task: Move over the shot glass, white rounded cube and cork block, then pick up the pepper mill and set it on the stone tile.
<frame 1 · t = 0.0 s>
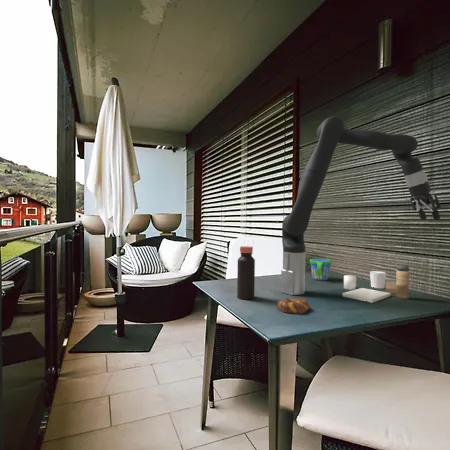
hand: (430, 219, 128), 31 cm above the table, tool tilted 20°, fingers open, 8 cm apart
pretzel: (293, 310, 106), on the table
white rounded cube: (349, 288, 138), on the table
cork block: (391, 292, 132), on the table
pepper mill: (402, 297, 122), on the table
snack cup: (320, 279, 157), on the table
stone tile: (366, 296, 124), on the table
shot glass: (377, 287, 141), on the table
bottle: (245, 298, 120), on the table
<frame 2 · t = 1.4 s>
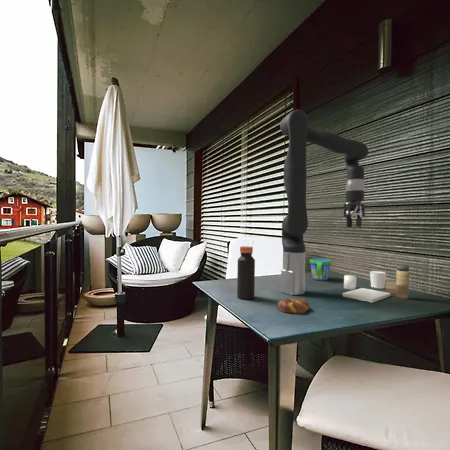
hand: (354, 226, 135), 28 cm above the table, tool pointing down, fingers open, 8 cm apart
nothing on the table moved.
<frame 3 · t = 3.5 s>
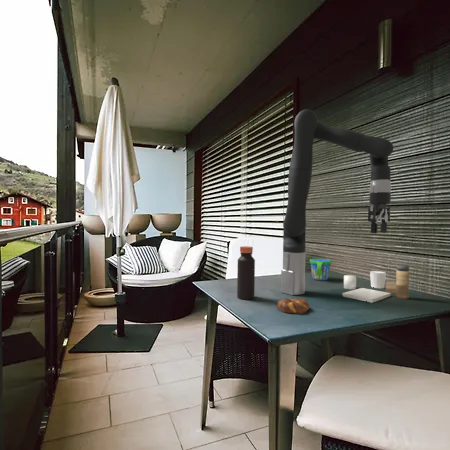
hand: (378, 232, 121), 26 cm above the table, tool pointing down, fingers open, 8 cm apart
nothing on the table moved.
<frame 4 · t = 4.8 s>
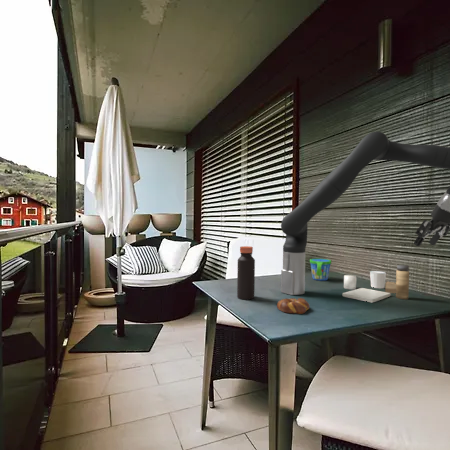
hand: (423, 244, 114), 22 cm above the table, tool tilted 30°, fingers open, 8 cm apart
nothing on the table moved.
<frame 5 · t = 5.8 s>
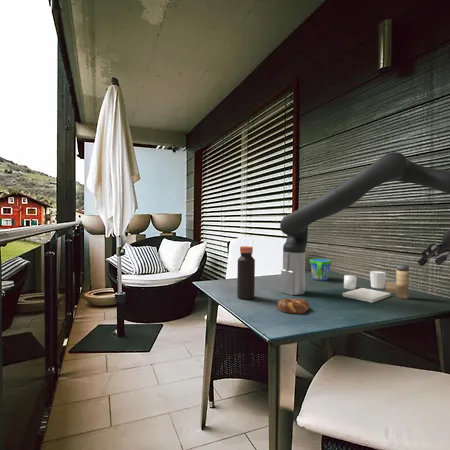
hand: (428, 263, 112), 15 cm above the table, tool tilted 45°, fingers open, 8 cm apart
nothing on the table moved.
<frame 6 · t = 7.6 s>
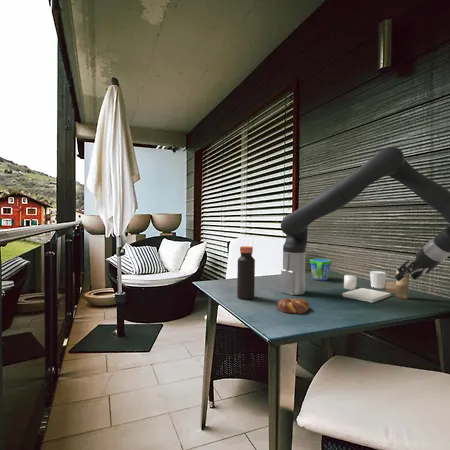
hand: (405, 278, 121), 8 cm above the table, tool tilted 45°, fingers open, 8 cm apart
nothing on the table moved.
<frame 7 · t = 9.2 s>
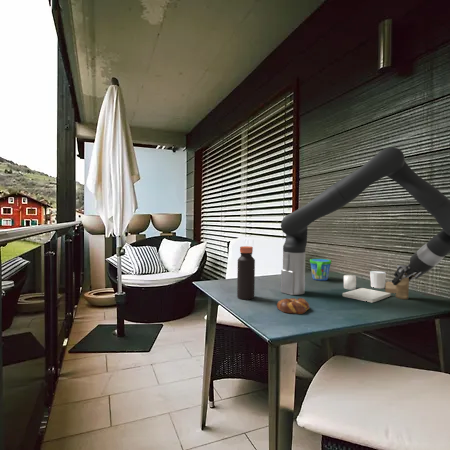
hand: (398, 282, 124), 6 cm above the table, tool tilted 45°, fingers closed on pepper mill, 4 cm apart
pepper mill: (402, 297, 122), on the table, touching gripper
everything else where it was.
when the fingers open (8 cm above the table, at t = 13.9 s): pepper mill drops 1 cm, resting on stone tile.
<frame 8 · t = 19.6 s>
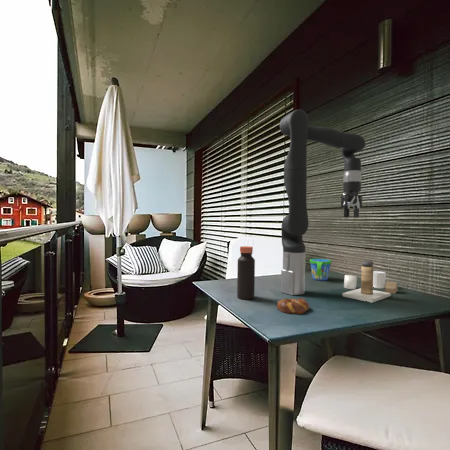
hand: (351, 217, 138), 32 cm above the table, tool pointing down, fingers open, 8 cm apart
pepper mill: (366, 293, 124), point 1 cm above the table, touching stone tile
everything else where it was.
at the end: pepper mill inside the target area on the stone tile (0.1 cm from its centre), point 1.2 cm above the stone tile's base; pepper mill tilted 0°; the gripper is holding nothing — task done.
